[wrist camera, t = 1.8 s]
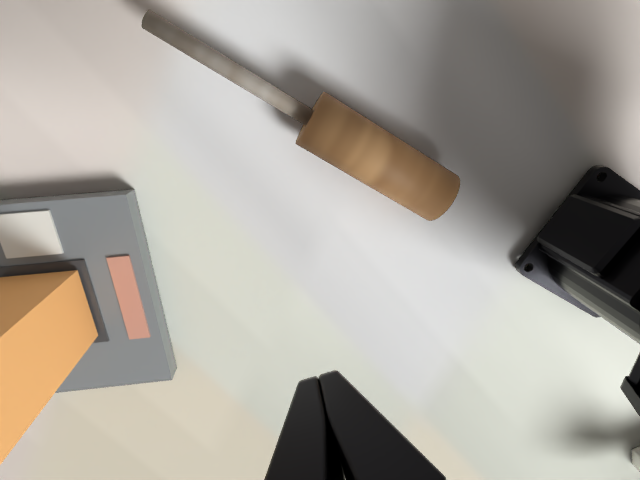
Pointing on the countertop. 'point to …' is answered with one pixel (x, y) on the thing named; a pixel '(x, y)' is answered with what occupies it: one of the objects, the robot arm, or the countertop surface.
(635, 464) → the lighter
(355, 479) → the robot arm
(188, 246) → the countertop surface
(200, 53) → the wooden handled tool
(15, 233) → the switch board
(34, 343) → the lidded box
